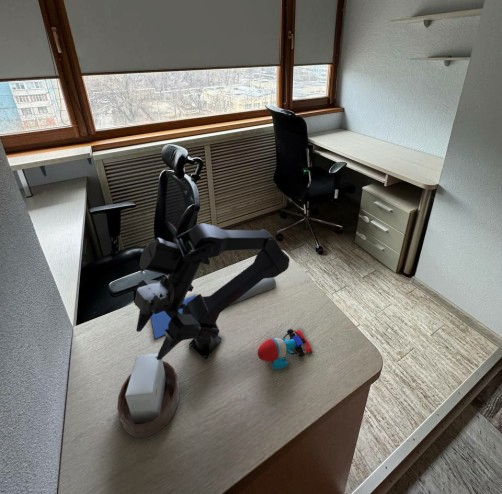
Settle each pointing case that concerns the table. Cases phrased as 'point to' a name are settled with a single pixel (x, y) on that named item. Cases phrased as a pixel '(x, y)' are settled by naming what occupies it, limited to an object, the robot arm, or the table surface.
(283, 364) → the toy figure
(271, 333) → the table surface
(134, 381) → the small box
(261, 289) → the gray half cylinder
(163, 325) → the cloth
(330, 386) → the table surface
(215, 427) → the table surface
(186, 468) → the table surface
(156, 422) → the bowl
